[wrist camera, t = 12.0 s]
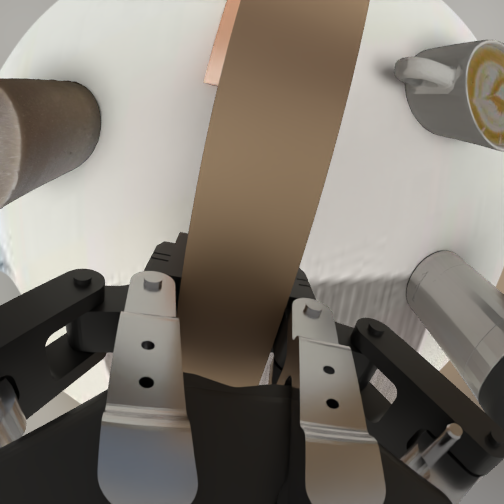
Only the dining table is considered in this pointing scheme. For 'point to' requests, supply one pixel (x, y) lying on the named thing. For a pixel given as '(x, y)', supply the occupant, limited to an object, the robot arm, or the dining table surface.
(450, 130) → the coffee mug
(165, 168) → the dining table surface
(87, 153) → the pillar candle
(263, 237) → the curved tan slat
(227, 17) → the tile
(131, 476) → the robot arm
